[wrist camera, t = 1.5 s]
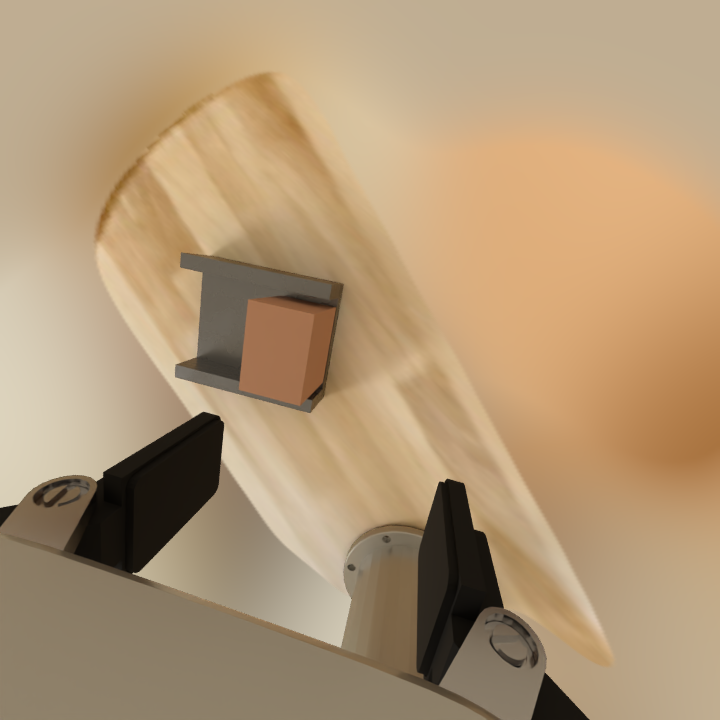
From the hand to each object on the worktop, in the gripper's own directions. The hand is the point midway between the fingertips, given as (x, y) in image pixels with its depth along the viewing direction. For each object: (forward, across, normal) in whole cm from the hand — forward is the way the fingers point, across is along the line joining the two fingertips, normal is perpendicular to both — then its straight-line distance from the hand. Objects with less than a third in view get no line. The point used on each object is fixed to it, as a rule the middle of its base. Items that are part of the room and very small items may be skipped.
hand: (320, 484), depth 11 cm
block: (+19, +7, 0) cm, 20 cm away
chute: (+20, +11, 0) cm, 23 cm away
